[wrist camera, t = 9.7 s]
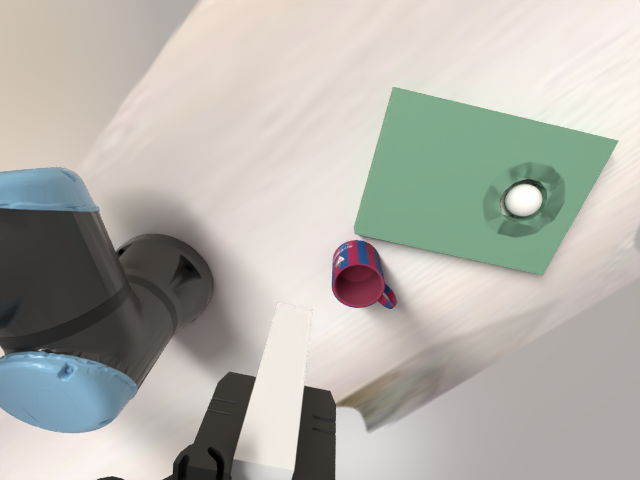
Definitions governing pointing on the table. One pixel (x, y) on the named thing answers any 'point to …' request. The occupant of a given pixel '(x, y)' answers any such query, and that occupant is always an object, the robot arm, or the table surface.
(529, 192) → the ball
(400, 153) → the green
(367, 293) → the mug
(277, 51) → the table surface
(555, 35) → the table surface
